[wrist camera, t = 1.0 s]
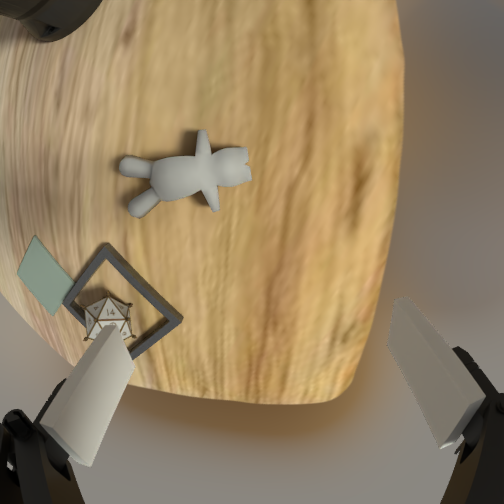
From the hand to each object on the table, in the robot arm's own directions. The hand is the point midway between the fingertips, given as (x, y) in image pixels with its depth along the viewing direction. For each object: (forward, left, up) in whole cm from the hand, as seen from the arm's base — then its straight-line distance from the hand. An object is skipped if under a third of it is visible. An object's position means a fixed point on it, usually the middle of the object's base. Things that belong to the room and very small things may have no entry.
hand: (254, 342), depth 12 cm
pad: (-17, -34, -24) cm, 45 cm away
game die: (-3, -26, -24) cm, 35 cm away
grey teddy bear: (-9, -3, -24) cm, 26 cm away
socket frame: (-3, -26, -24) cm, 35 cm away
